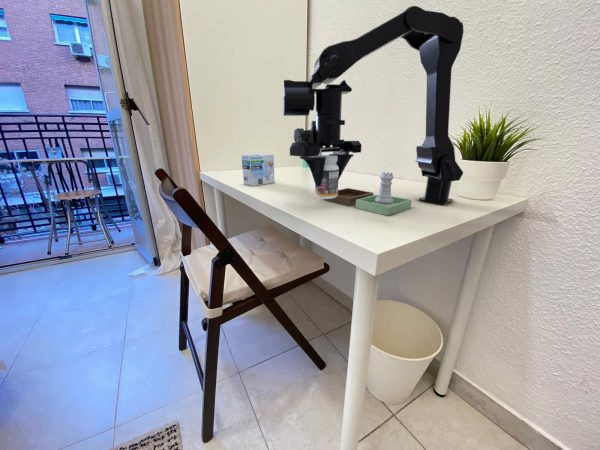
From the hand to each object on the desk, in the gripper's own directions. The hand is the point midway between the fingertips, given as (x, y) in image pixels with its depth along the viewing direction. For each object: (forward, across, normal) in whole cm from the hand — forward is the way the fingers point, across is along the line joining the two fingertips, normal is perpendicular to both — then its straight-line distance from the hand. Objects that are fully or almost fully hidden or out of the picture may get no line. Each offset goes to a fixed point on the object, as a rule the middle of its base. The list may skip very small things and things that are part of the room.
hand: (326, 184), depth 60 cm
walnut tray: (+6, -10, -1) cm, 12 cm away
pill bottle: (+3, 0, 0) cm, 3 cm away
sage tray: (+6, -10, +10) cm, 15 cm away
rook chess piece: (+5, -10, +10) cm, 15 cm away
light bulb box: (+6, -5, -41) cm, 42 cm away
